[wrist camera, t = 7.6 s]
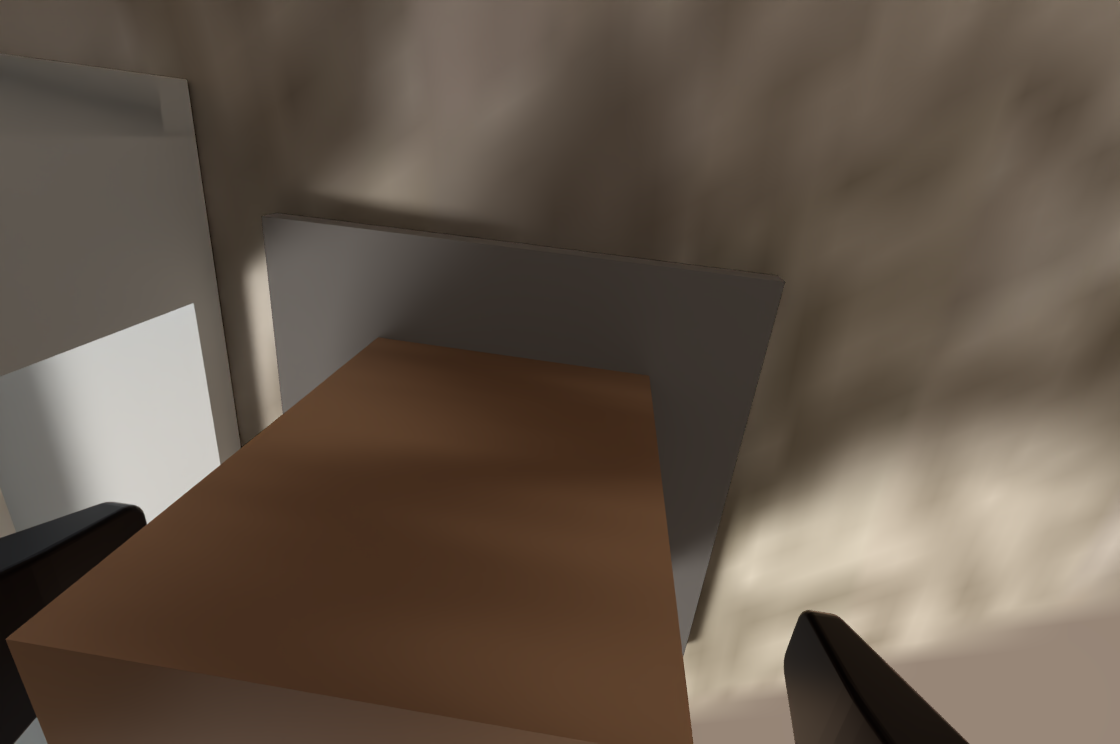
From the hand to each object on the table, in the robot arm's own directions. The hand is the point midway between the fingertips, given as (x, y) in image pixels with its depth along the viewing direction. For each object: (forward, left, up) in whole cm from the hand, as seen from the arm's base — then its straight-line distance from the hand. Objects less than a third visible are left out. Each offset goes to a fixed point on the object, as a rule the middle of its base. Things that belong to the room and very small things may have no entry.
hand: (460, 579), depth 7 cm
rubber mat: (0, 0, -3) cm, 3 cm away
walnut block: (0, 0, -3) cm, 3 cm away
